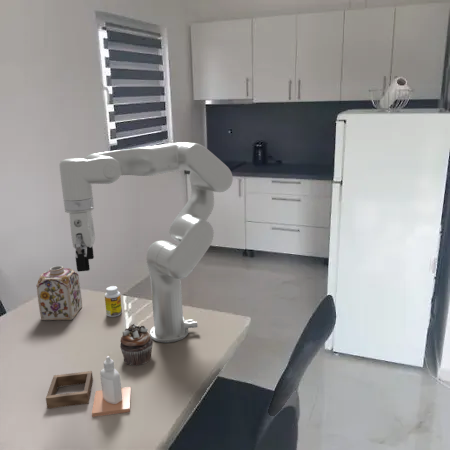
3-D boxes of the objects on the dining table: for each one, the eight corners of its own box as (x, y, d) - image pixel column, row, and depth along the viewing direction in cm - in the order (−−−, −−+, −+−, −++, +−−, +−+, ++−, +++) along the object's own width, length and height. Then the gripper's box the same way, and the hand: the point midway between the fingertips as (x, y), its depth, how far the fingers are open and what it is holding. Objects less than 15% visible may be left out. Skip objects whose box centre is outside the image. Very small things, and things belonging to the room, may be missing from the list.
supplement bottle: (111, 319, 158) (108, 292, 156) (103, 314, 162) (100, 288, 160) (125, 313, 162) (122, 287, 159) (117, 309, 166) (114, 283, 163)
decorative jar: (72, 320, 158) (66, 273, 153) (40, 321, 158) (33, 273, 154) (83, 306, 170) (78, 261, 165) (53, 306, 170) (46, 262, 165)
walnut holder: (93, 380, 123) (91, 370, 122) (88, 403, 113) (87, 393, 112) (55, 385, 121) (53, 375, 120) (47, 408, 111) (45, 398, 111)
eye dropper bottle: (105, 407, 110) (100, 364, 106) (102, 394, 115) (97, 353, 111) (123, 402, 111) (118, 360, 108) (119, 390, 116) (115, 349, 113)
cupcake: (115, 365, 130) (112, 334, 127) (130, 348, 139) (128, 318, 136) (145, 369, 127) (142, 337, 125) (159, 351, 136) (157, 321, 134)
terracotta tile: (131, 389, 118) (130, 386, 118) (129, 411, 109) (129, 408, 109) (96, 394, 117) (95, 390, 116) (92, 416, 108) (91, 413, 108)
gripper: (89, 210, 112) (96, 274, 117) (96, 197, 129) (102, 254, 133) (58, 212, 111) (66, 277, 115) (69, 199, 128) (76, 256, 132)
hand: (85, 264), depth 124 cm, fingers open, 9 cm apart
